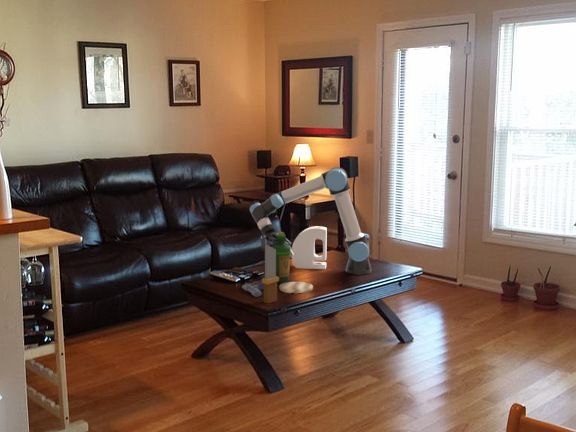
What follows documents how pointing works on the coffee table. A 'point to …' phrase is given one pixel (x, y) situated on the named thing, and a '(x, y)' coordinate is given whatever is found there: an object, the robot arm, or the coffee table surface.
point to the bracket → (309, 248)
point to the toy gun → (254, 288)
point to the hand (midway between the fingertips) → (283, 258)
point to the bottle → (282, 258)
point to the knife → (270, 275)
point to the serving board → (296, 287)
